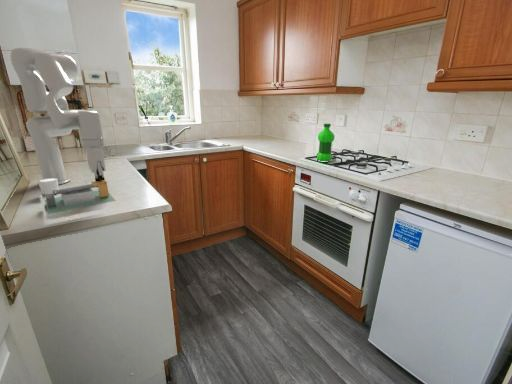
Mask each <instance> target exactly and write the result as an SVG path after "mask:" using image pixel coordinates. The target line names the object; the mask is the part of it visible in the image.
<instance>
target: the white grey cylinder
mask: <svg viewBox="0 0 512 384" xmlns="http://www.w3.org/2000/svg"><path fill="white" fill-rule="evenodd" d="M37 183H38V185H39V189H40V191H41V194H42V195H48V194H53V192H52V191H53V190H60V189H59V185H58V180H57V178H47V179H42V178H41V179H38V181H37Z"/></svg>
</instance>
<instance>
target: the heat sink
mask: <svg viewBox="0 0 512 384" xmlns="http://www.w3.org/2000/svg"><path fill="white" fill-rule="evenodd" d="M93 191H94V190H93V188H89V189H84V190H78V191H73V192H67V193H62V194H60V195H61V196H60V197H62V200H63V202H64V205H65V207H68V206H73V205H78V204H83V203H89V202H94V201H95V197H94V193H93ZM44 195H45V196H44V197H45V200H46V201H47V204H48V208H51V207H57V206H56V202H55V198H56V197H55V195H53V194H44Z"/></svg>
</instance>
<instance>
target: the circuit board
mask: <svg viewBox="0 0 512 384" xmlns="http://www.w3.org/2000/svg"><path fill="white" fill-rule="evenodd" d="M93 193H94V197H95V201H94V202H89V203H83V204H78V205H73V206H68V207H65V205H64V202H63V200H62V196H59V197H54V198H55V202H56V206H57V207H51V208H48V204H47V201H46V199H44V201H45V207H46V212H47V215H51V214H55V213H59V212H65V211H69V210H77V209H79V208H87V207H90V206H96V205H100V204H106V203H110V202H116V199H115V198H114V197H113V196H112V194H110V192H109V191H108V193H109V196H106V197H100V196H99V190H93Z"/></svg>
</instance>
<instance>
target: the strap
mask: <svg viewBox="0 0 512 384" xmlns="http://www.w3.org/2000/svg"><path fill="white" fill-rule="evenodd" d="M89 188H91V189H94V188H97V186H93V185H92V183H90V184H84V185H79V186H74V187H73V186H72V187H68V188H62V189H59V190H53V191H52V192H53V195H54V196H57V195H61V194H62V193H67V192H73V191H78V190H84V189H89Z"/></svg>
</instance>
